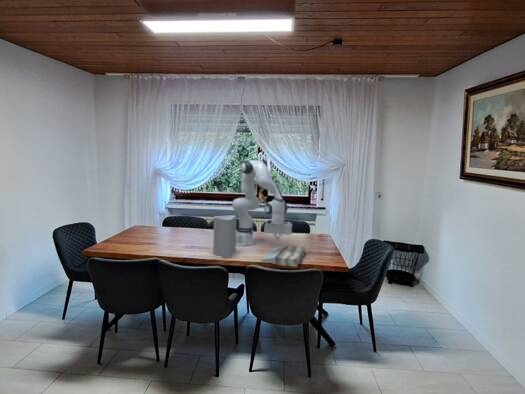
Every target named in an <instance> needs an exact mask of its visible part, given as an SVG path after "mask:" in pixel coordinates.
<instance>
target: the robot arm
mask: <svg viewBox="0 0 525 394" xmlns="http://www.w3.org/2000/svg"><path fill="white" fill-rule="evenodd" d="M240 170H241V172H242V173H241V179H240V191H241V192H242V193H244V195H245V197H238V198H235V199H233V201H232V202H231V203H232V204H231V206H232V209H233V210H234V211H235V212H236V213H237V217H238V219H239V221H238V222H239V223H238V224H239V225H238V226H236V246H239V247H245V246H252V245H253V246H254V244H255V242H254V237H253V235H254V227H253V221H254V219H253V217H252V216H251V215H249V211H254V210H255V211H256V210H257V209H259V208H260V207H261V200H260V199H259V198H258V196H257V195H256V192H255V180H256V182H257V186H259V187H260V188H261V189H264V190H267V191H270V192H271V193H272V194H273V197H274V198H273V199H272V200H271V201H268V202H266V203H265V204H264V205H263V206H264V207H263V210H264V213H265V214H266V215H268V216H272V217H271V218H268V219H266V220H265V224H264V228H263V229H264V230H263V232H264V234H273V236H274V237H275V240H276V241H277V240H278V241H280V240H281V236H282V235H288V236H290V235H292V233H293V230H292V229H293V223H292V222H291V221H285V214H286V213H287V212H288V204H287V202H286V201H285V199H284V197H283V195H282V193H281V190H280V188H279V186H278V184H277V183H276V182H275V181H274V180H273V179H272V176H271V174H270V170H269V168H268V164H267V162H266V161H265V160H258V159H257V160H256V159H253V160H243V161H242V162H241V165H240ZM277 235H278V236H277Z"/></svg>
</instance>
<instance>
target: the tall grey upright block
mask: <svg viewBox="0 0 525 394" xmlns="http://www.w3.org/2000/svg"><path fill="white" fill-rule="evenodd" d="M236 231H237V215H229V214H228V215H217V216H216V215H214V217H213V245H212V246H213V247H212V248H213V251H212V253H213V255H215V256H218V257H220V256H221V258H223V257H224V258H223V259H230V258H232V257H233V255H235V253H236V252H237V251H236V248H237V247H236V246H237V245H236Z"/></svg>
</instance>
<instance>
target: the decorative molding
mask: <svg viewBox="0 0 525 394" xmlns="http://www.w3.org/2000/svg"><path fill="white" fill-rule="evenodd" d="M286 246H287V245H283V246H278V247H273V248H272V249H271V251H269V252H268V253H267V254H266V255H265V256H263V257H262V258H261V262H262V263H266V264H269V263H271V264H273V265H274V264H275V265H277V257H278V256H279V255H280V254H281V252H282V251H283V250H284V249H285V248H286Z"/></svg>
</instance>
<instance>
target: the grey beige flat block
mask: <svg viewBox="0 0 525 394" xmlns="http://www.w3.org/2000/svg"><path fill="white" fill-rule="evenodd" d="M285 246H286V248H285V249H284V250H283V251H282V252H281V254H280V255H279V256H278V257H277V263H276V265H277V266H286V267H287V266H288V267H296V268H297V267H298V266H299V264H300V263H301V261H302V259H303V258H304V255H305V254H306V246H298V245H290V244H289V245H285ZM299 262H300V263H299Z"/></svg>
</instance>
